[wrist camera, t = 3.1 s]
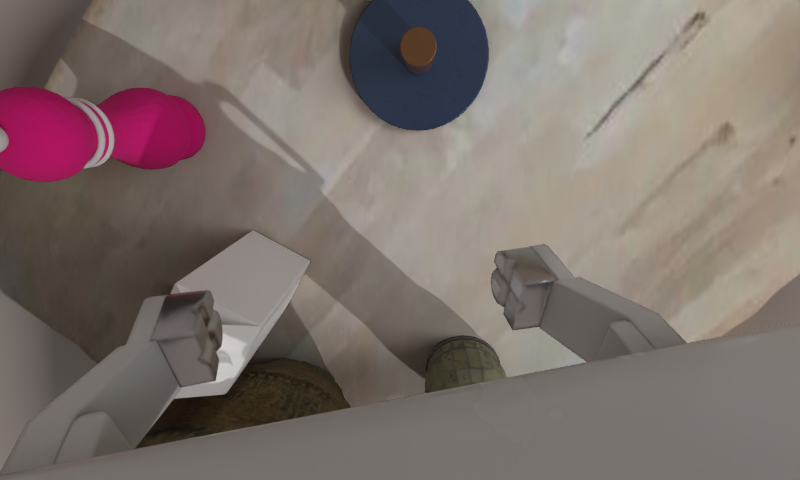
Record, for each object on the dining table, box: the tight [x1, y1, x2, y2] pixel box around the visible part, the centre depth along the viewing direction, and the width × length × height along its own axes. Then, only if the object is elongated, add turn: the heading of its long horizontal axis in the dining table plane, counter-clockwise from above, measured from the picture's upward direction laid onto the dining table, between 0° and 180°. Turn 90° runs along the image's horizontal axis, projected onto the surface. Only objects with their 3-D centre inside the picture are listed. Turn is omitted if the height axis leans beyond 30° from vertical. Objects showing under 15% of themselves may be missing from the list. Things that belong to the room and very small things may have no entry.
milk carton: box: [171, 230, 310, 399], centre depth 37 cm, size 7×7×19 cm
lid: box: [350, 0, 489, 130], centre depth 35 cm, size 13×13×8 cm
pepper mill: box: [0, 87, 205, 182], centre depth 33 cm, size 7×7×20 cm
